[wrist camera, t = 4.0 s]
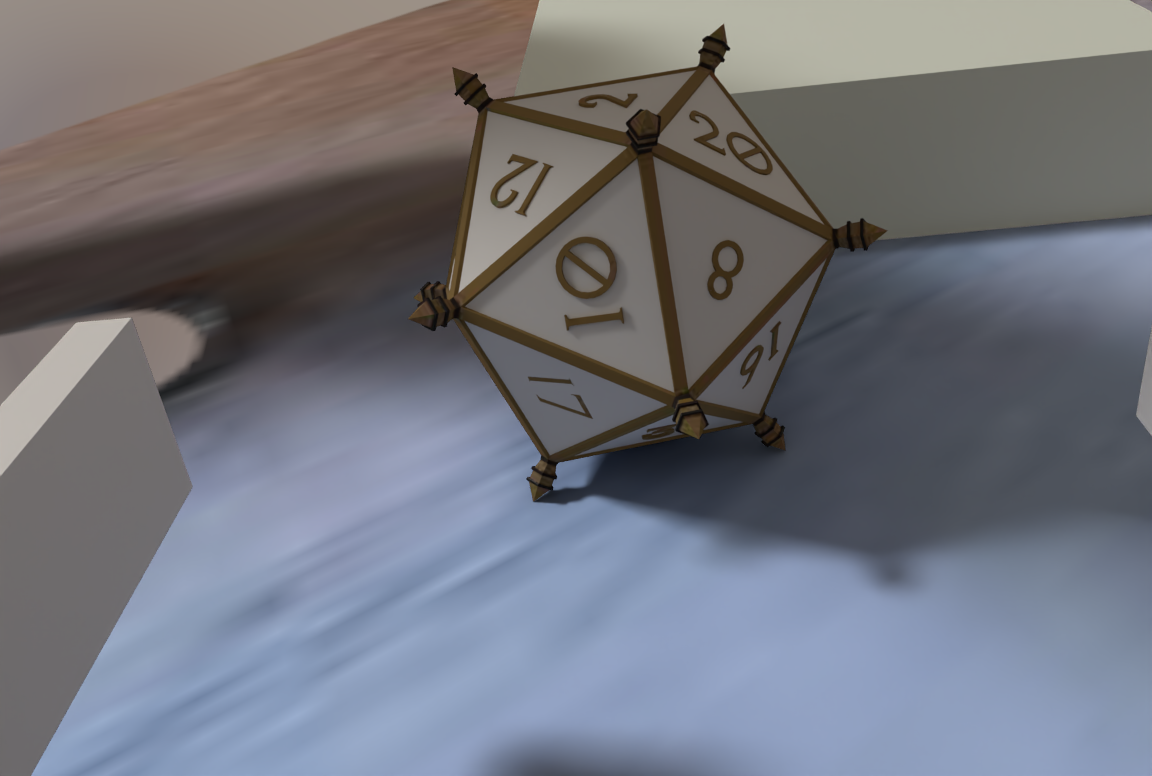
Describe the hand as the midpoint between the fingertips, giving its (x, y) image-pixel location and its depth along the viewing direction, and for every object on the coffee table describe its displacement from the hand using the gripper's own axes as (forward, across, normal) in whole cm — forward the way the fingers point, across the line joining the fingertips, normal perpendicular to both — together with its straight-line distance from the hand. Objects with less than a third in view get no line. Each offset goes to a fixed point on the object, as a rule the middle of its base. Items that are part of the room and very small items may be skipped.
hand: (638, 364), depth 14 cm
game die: (+7, 0, -6) cm, 9 cm away
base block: (+25, +6, -6) cm, 27 cm away
